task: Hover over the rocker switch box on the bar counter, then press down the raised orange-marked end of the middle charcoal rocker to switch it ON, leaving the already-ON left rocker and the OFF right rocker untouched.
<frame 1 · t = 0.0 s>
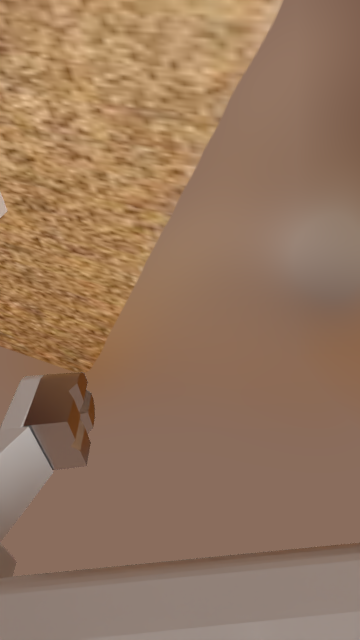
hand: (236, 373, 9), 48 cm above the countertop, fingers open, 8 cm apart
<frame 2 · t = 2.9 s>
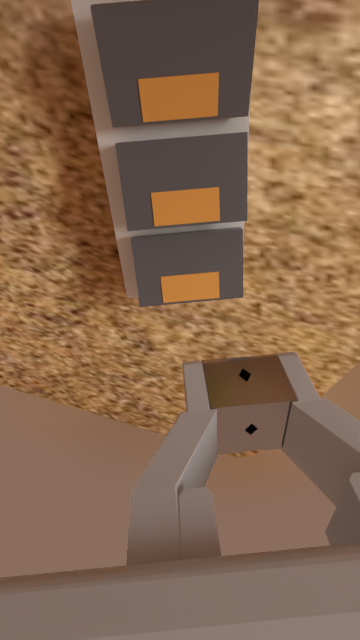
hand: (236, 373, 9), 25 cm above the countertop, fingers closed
rocker switch box: (173, 167, 29), on the countertop
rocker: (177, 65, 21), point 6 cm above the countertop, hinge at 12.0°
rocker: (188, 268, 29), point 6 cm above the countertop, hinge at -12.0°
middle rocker: (184, 183, 25), point 6 cm above the countertop, hinge at -12.0°
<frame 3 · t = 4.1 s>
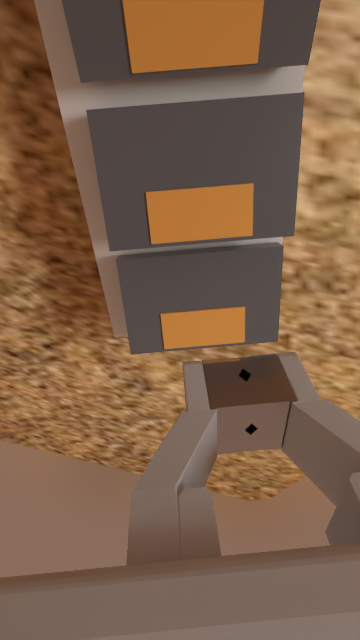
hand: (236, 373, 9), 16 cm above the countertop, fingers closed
rocker switch box: (180, 153, 20), on the countertop
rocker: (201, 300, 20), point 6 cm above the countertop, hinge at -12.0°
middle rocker: (198, 177, 16), point 6 cm above the countertop, hinge at -12.0°
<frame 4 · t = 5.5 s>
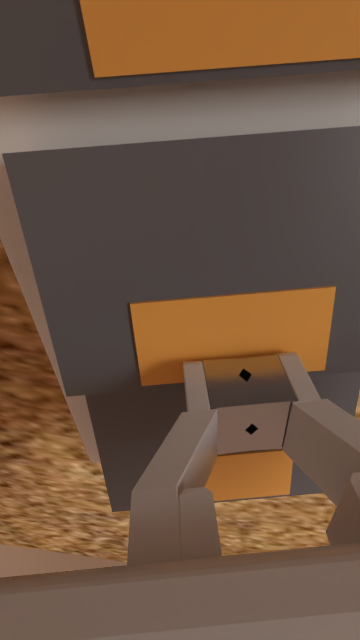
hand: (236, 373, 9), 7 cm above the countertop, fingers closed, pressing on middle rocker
rocker switch box: (190, 203, 13), on the countertop
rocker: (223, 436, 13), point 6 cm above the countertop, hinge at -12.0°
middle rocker: (229, 272, 8), point 6 cm above the countertop, hinge at -11.9°, touching gripper
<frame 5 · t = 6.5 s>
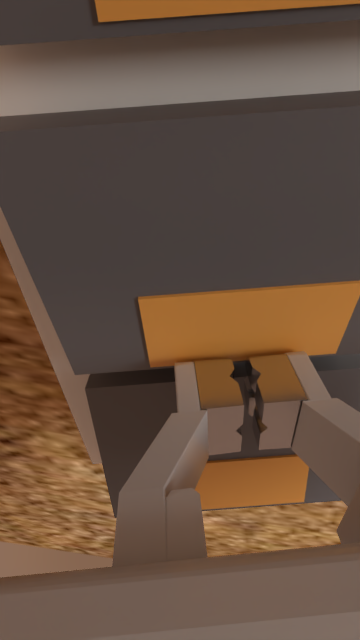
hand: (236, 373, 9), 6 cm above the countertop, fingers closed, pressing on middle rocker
rocker switch box: (201, 188, 12), on the countertop
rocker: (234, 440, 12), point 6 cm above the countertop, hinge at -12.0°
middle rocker: (248, 261, 7), point 6 cm above the countertop, hinge at 6.2°, touching gripper
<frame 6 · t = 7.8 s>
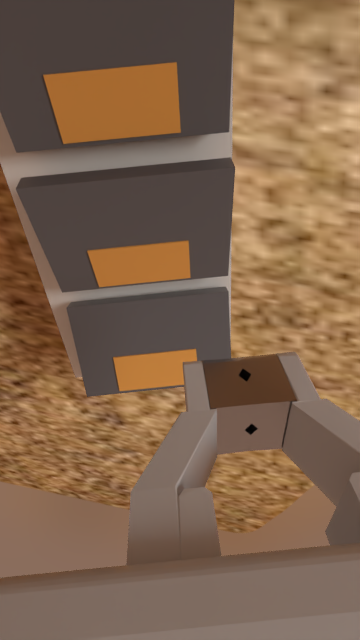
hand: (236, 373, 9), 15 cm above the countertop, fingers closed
rocker switch box: (132, 203, 21), on the countertop
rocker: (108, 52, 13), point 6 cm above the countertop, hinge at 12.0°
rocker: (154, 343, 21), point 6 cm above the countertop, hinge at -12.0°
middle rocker: (136, 233, 17), point 6 cm above the countertop, hinge at 14.2°
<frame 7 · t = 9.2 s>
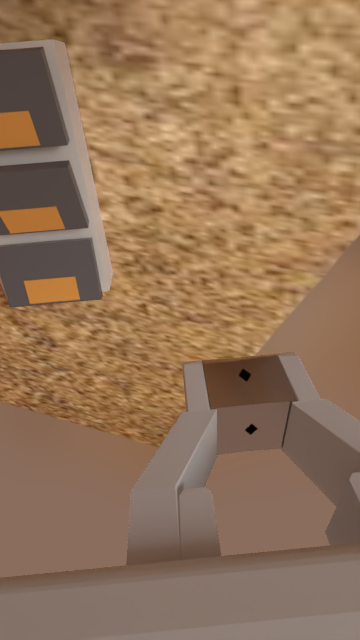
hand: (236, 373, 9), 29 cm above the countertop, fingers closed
rocker switch box: (38, 184, 33), on the countertop
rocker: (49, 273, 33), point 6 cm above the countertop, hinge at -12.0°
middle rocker: (25, 201, 29), point 6 cm above the countertop, hinge at 19.3°
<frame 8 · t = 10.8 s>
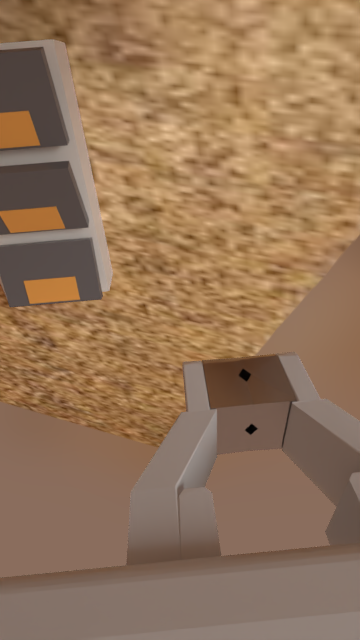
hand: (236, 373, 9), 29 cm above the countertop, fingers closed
rocker switch box: (38, 184, 33), on the countertop
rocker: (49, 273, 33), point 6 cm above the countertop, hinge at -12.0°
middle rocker: (25, 201, 29), point 6 cm above the countertop, hinge at 20.9°, touching rocker switch box
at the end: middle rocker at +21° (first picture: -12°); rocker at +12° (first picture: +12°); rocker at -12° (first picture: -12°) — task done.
